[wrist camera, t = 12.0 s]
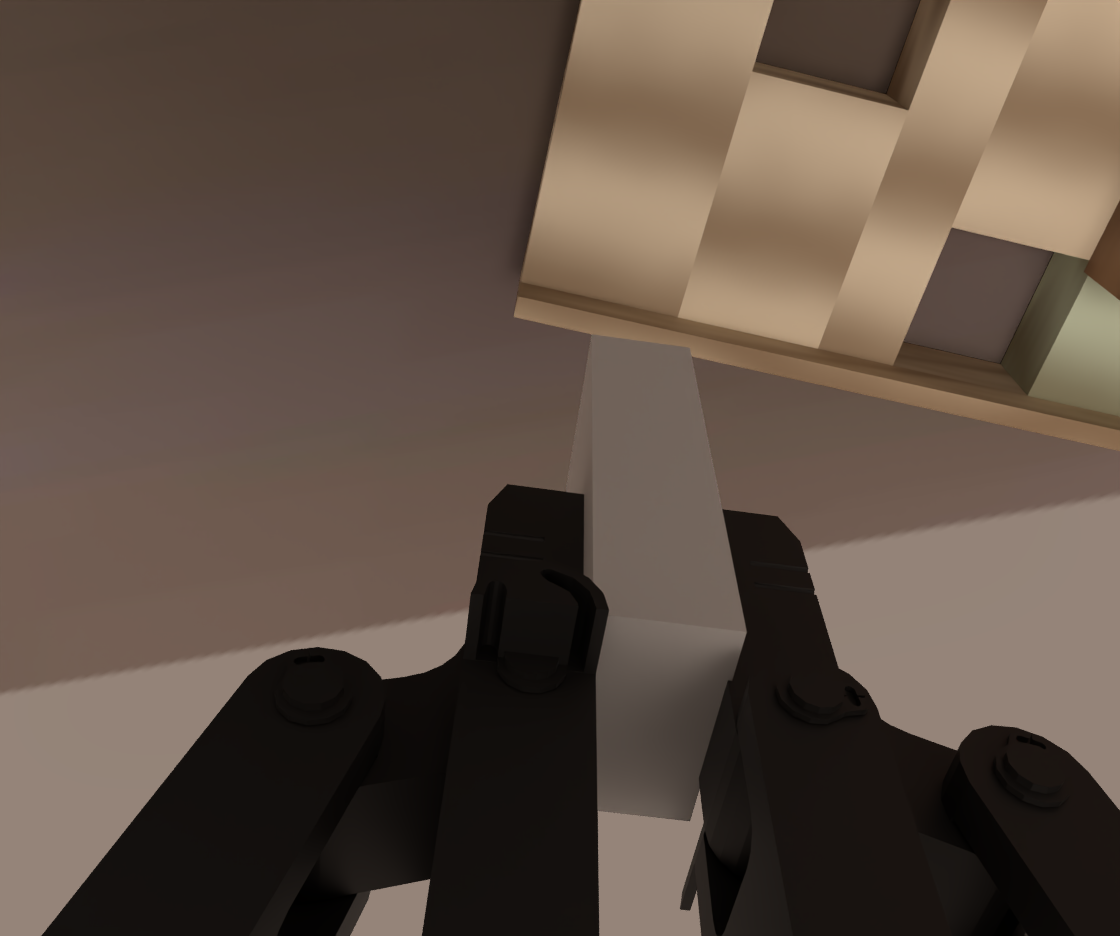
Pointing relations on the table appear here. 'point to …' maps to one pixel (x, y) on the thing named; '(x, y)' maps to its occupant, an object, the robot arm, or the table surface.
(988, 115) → the trap box
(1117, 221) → the walnut block
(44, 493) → the table surface
